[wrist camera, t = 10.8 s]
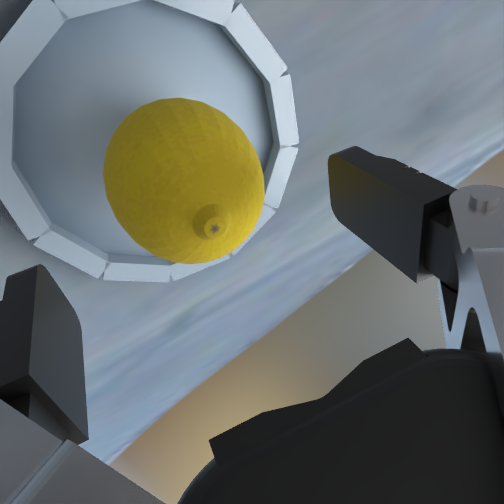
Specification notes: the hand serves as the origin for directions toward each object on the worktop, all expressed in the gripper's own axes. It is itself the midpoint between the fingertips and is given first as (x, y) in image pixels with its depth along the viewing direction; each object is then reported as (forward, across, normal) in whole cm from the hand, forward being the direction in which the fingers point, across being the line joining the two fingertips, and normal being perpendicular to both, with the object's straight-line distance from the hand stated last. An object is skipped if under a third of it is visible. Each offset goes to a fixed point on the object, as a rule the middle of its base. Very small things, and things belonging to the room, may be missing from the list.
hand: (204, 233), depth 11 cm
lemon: (+9, 0, 0) cm, 9 cm away
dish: (+9, 0, 0) cm, 9 cm away
